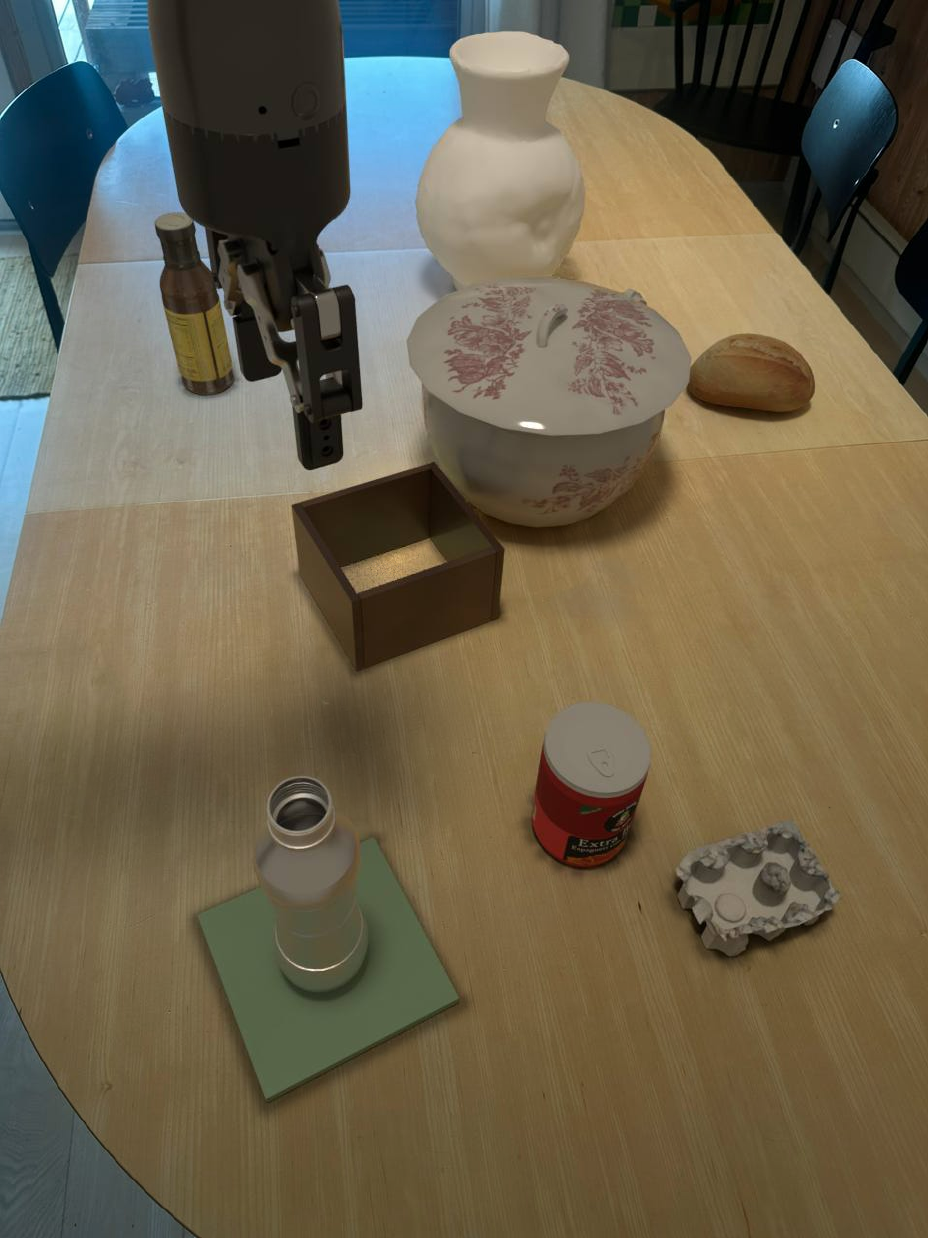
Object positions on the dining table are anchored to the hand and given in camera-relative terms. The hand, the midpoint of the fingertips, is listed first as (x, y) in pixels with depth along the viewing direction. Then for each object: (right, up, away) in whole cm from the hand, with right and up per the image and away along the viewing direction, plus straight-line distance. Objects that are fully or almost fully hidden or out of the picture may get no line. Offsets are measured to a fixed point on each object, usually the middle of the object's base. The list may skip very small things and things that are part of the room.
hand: (290, 417), depth 52 cm
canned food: (+18, -27, +25) cm, 41 cm away
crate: (+3, -9, +41) cm, 42 cm away
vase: (+13, +34, +82) cm, 90 cm away
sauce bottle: (-21, +17, +64) cm, 70 cm away
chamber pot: (+17, +4, +54) cm, 57 cm away
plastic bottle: (-1, -35, +17) cm, 38 cm away
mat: (-1, -35, +17) cm, 39 cm away
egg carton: (+31, -32, +22) cm, 49 cm away
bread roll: (+43, +15, +66) cm, 80 cm away
